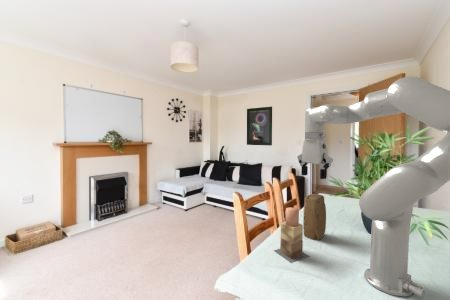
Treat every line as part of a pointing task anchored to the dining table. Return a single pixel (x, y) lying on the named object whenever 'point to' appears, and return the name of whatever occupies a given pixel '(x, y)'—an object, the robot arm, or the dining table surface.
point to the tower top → (291, 233)
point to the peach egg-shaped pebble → (292, 217)
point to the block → (314, 216)
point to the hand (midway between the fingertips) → (313, 176)
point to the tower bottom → (291, 248)
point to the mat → (293, 258)
